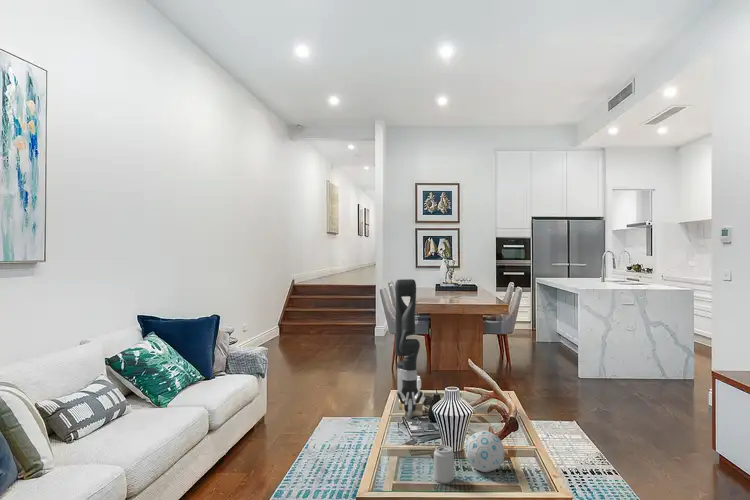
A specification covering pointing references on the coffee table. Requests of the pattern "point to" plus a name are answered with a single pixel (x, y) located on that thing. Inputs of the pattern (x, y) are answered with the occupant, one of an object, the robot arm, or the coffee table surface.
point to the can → (443, 464)
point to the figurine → (419, 389)
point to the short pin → (400, 405)
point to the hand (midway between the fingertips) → (409, 411)
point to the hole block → (417, 411)
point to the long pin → (410, 408)
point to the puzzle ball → (484, 451)
